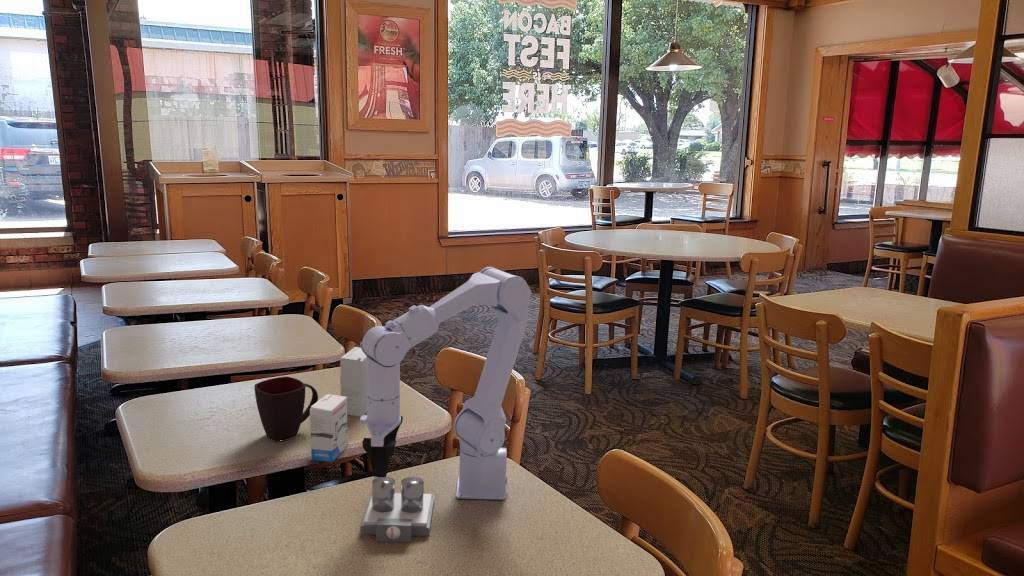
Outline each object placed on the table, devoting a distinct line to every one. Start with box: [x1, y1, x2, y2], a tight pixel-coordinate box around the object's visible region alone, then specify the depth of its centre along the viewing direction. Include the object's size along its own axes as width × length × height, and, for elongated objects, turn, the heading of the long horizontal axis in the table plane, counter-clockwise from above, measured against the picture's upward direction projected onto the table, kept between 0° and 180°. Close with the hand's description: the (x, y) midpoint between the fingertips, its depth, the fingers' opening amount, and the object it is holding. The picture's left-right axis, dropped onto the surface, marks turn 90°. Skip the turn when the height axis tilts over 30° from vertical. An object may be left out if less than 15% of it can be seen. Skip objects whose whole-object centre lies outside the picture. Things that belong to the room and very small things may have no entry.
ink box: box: [309, 393, 349, 463], centre depth 157 cm, size 9×5×12 cm, turn 168°
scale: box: [360, 492, 435, 543], centre depth 133 cm, size 12×13×3 cm
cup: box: [253, 376, 319, 442], centre depth 165 cm, size 10×14×12 cm
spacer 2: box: [400, 476, 425, 513], centre depth 133 cm, size 4×4×5 cm
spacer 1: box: [371, 475, 396, 512], centre depth 133 cm, size 4×4×5 cm
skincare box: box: [339, 346, 367, 418], centre depth 179 cm, size 8×6×15 cm
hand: (383, 465), depth 132 cm, fingers open, 7 cm apart
